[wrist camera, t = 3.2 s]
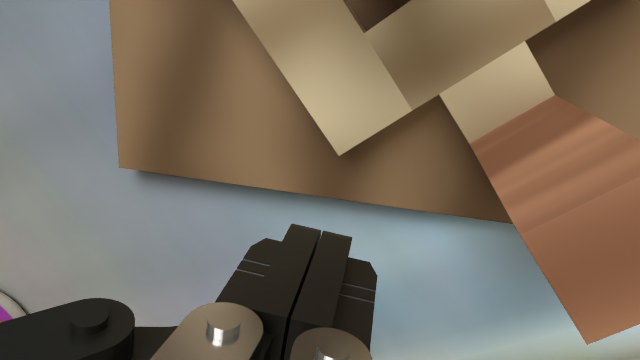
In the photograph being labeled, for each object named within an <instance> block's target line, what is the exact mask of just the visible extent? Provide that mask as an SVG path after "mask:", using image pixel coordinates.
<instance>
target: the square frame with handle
mask: <svg viewBox="0 0 640 360" xmlns="http://www.w3.org/2000/svg"><path fill="white" fill-rule="evenodd" d="M589 1H590V0H411V1H409V2H408V3H407V4H405V5H404V6H402V7H401V8H400V9H398V10H397V11H395V12H394V13H392V14H391V15H390V16H388V17H387V18H385V19H384V20H382V21H381V22H380V23H378V24H377V25H375V26H374V27H372V28H371V29H370V30H368V31H367V32H366V31H365V29H364V28H363V26H362V25H361V23H360V21H359V20H358V18H357V17H356V15H355V14H354V12H353V10H352V9H351V7H350V6H349V4H348V2H347V1H346V0H233V2H234V3H235V5H236V6H237V8H238V9H239V11H240V12H241V13H242V15H243V16H244V18H245V19H246V21H247V22H248V24H249V25H250V27H251V28H252V30H253V31H254V33H255V34H256V35H257V37H258V38H259V40H260V41H261V43H262V44H263V46H264V47H265V49H266V50H267V52H268V53H269V54H270V56H271V57H272V59H273V60H274V62H275V63H276V65H277V66H278V68H279V69H280V71H281V72H282V74H283V75H284V76H285V78H286V79H287V81H288V82H289V84H290V85H291V87H292V88H293V90H294V91H295V93H296V94H297V95H298V97H299V98H300V100H301V101H302V103H303V104H304V106H305V107H306V109H307V110H308V112H309V113H310V115H311V116H312V117H313V119H314V120H315V122H316V123H317V125H318V126H319V128H320V129H321V131H322V132H323V134H324V135H325V136H326V138H327V139H328V141H329V142H330V144H331V145H332V147H333V148H334V150H335V151H336V153H337V154H338V156H340V155H341V154H343V153H345V152H346V151H348V150H350V149H351V148H353V147H354V146H356V145H358V144H359V143H361V142H362V141H364V140H366V139H367V138H369V137H371V136H372V135H374V134H375V133H377V132H379V131H380V130H382V129H383V128H385V127H387V126H388V125H390V124H392V123H393V122H395V121H396V120H398V119H400V118H401V117H403V116H404V115H406V114H408V113H409V112H411V111H413V110H414V109H416V108H417V107H419V106H421V105H422V104H424V103H426V102H427V101H429V100H430V99H432V98H434V97H435V96H437V95H438V94H439V95H440V97H441V98H442V100H443V102H444V103H445V105H446V106H447V108H448V110H449V111H450V113H451V115H452V116H453V118H454V120H455V121H456V123H457V124H458V126H459V128H460V129H461V131H462V133H463V134H464V136H465V137H466V139H467V141H468V142H469V144H470V146H471V148H472V149H473V151H474V153H475V155H476V157H477V159H478V160H479V162H480V164H481V166H482V168H483V169H484V171H485V173H486V175H487V177H488V179H489V180H490V182H491V184H492V186H493V188H494V189H495V191H496V193H497V195H498V197H499V198H500V200H501V202H502V204H503V206H504V208H505V209H506V211H507V213H508V215H509V217H510V218H511V220H512V222H513V224H514V226H515V227H516V229H517V231H518V233H519V235H520V236H521V238H522V240H523V241H524V243H525V245H526V246H527V248H528V249H529V251H530V253H531V254H532V256H533V258H534V259H535V261H536V262H537V264H538V266H539V267H540V269H541V271H542V272H543V274H544V275H545V277H546V279H547V280H548V282H549V284H550V285H551V287H552V288H553V290H554V292H555V293H556V295H557V297H558V298H559V300H560V301H561V303H562V305H563V306H564V308H565V310H566V311H567V313H568V314H569V316H570V318H571V319H572V321H573V323H574V324H575V326H576V327H577V329H578V331H579V332H580V334H581V336H582V337H583V339H584V340H585V342H586V344H587V345H588V344H590V343H593V342H595V341H598V340H600V339H603V338H605V337H608V336H611V335H613V334H616V333H618V332H621V331H623V330H626V329H628V328H631V327H633V326H636V325H638V324H640V140H639V139H637V138H635V137H633V136H631V135H629V134H627V133H625V132H624V131H622V130H620V129H618V128H616V127H614V126H612V125H610V124H609V123H607V122H605V121H603V120H601V119H599V118H597V117H595V116H593V115H592V114H590V113H588V112H586V111H584V110H582V109H580V108H578V107H577V106H575V105H573V104H571V103H569V102H567V101H565V100H563V99H562V98H560V97H558V96H556V95H555V94H554V92H553V91H552V89H551V87H550V85H549V83H548V82H547V80H546V78H545V76H544V74H543V73H542V71H541V69H540V67H539V65H538V64H537V62H536V60H535V58H534V56H533V55H532V53H531V51H530V49H529V47H528V46H527V44H526V42H525V41H526V40H527V39H529V38H531V37H532V36H534V35H535V34H537V33H539V32H540V31H542V30H544V29H545V28H547V27H548V26H550V25H552V24H553V23H555V22H557V21H558V20H560V19H561V18H563V17H565V16H566V15H568V14H569V13H571V12H573V11H574V10H576V9H578V8H579V7H581V6H582V5H584V4H586V3H587V2H589Z"/></svg>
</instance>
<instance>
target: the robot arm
mask: <svg viewBox="0 0 640 360" xmlns="http://www.w3.org/2000/svg"><path fill="white" fill-rule="evenodd" d="M320 236H321V238H320ZM351 241H352V237H348V236H344V235H340V234H335V233H331V232H327V231H323V232H322V235H321V230H318V229H313V228H309V227H305V226H300V225H296V224H291V226H290V228H289V229H288V231H287V233H286V235H285V237H284V239H283V241H282V242H280V241H276V240H272V239H268V238H265V239H263V240H262V241H260V242H258V243H256V244H254V245H252V246H251V247H250V249H249V250H248V252H247V253H246V255H245V256H244V258H243V260H242V261H241V263H240V264H239V266H238V267H237V270H235V272H234V273H233V275H232V277H231V278H230V280H229V281H228V283H227V284H226V286H225V287H224V289H223V290H222V292H221V294H220V295H219V297H218V298H217V300H216V301H215V303H210V304H206V305H203V306H200V307H198V308H196V309H195V310H193V311H192V312H191V313H190V314H188V315H187V317H186V318H185V319H184V320H183V321H182V322H181V324H180V325H179V326H174V327H135V317H134V314H133V312H132V310H131V309H130V308H129V307H128V306H126V305H125V304H123V303H121V302H119V301H115V300H112V299H105V298H90V299H83V300H79V301H75V302H71V303H68V304H64V305H60V306H57V307H53V308H50V309H46V310H43V311H39V312H36V313H32V314H28V315H25V316H21V317H18V318H14V319H11V320H7V321H4V322H0V360H372V357H371V354H370V342H371V332H372V322H373V312H374V302H375V293H376V292H375V291H376V283H377V275H376V273H375V271H374V269H373V267H372V266H371V264H370V262H366V261H362V260H358V259H353V258H349V257H348V255H349V250H350V246H351Z"/></svg>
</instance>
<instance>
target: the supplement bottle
mask: <svg viewBox="0 0 640 360" xmlns="http://www.w3.org/2000/svg"><path fill="white" fill-rule="evenodd" d="M25 315H26V313H25V312H24V311H23V310H22V309H21V307H20V306H19V305H18V304H17V303H16V302H15V301H14V300H12V299H11V298H10V297H8V296H7V295H5V294H4V293H2V292H0V322H4V321H7V320H11V319H14V318H18V317H21V316H25Z"/></svg>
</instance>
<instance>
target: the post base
mask: <svg viewBox="0 0 640 360" xmlns="http://www.w3.org/2000/svg"><path fill="white" fill-rule="evenodd" d="M346 1H347V2H348V4H349V6H350V7H351V9H352V10H353V12H354V14H355V15H356V17H357V18H358V20H359V21H360V23H361V25H362V26H363V28H364V29H365V31H366V32H367V31H368V30H370V29H371V28H372V27H374V26H375V25H377V24H378V23H380V22H381V21H382V20H384V19H385V18H387V17H388V16H390V15H391V14H392V13H394V12H395V11H397V10H398V9H400V8H401V7H402V6H404V5H405V4H407V3H408V2H409V1H411V0H346ZM109 5H110V22H111V39H112V55H113V72H114V89H115V106H116V123H117V140H118V157H119V168H126V169H133V170H140V171H147V172H154V173H161V174H168V175H175V176H182V177H189V178H196V179H203V180H210V181H217V182H224V183H231V184H238V185H245V186H252V187H259V188H266V189H273V190H280V191H287V192H294V193H301V194H308V195H315V196H322V197H329V198H336V199H343V200H350V201H357V202H364V203H371V204H378V205H385V206H392V207H399V208H406V209H413V210H420V211H427V212H434V213H441V214H448V215H455V216H462V217H469V218H476V219H483V220H490V221H497V222H504V223H511V224H513V222H512V220H511V218H510V217H509V215H508V213H507V211H506V209H505V208H504V206H503V204H502V202H501V200H500V198H499V197H498V195H497V193H496V191H495V189H494V188H493V186H492V184H491V182H490V180H489V179H488V177H487V175H486V173H485V171H484V169H483V168H482V166H481V164H480V162H479V160H478V159H477V157H476V155H475V153H474V151H473V149H472V148H471V146H470V144H469V142H468V141H467V139H466V137H465V136H464V134H463V133H462V131H461V129H460V128H459V126H458V124H457V123H456V121H455V120H454V118H453V116H452V115H451V113H450V111H449V110H448V108H447V106H446V105H445V103H444V102H443V100H442V98H441V97H440V95H439V94H438V95H437V96H435V97H434V98H432V99H430V100H429V101H427V102H426V103H424V104H422V105H421V106H419V107H417V108H416V109H414V110H413V111H411V112H409V113H408V114H406V115H404V116H403V117H401V118H400V119H398V120H396V121H395V122H393V123H392V124H390V125H388V126H387V127H385V128H383V129H382V130H380V131H379V132H377V133H375V134H374V135H372V136H371V137H369V138H367V139H366V140H364V141H362V142H361V143H359V144H358V145H356V146H354V147H353V148H351V149H350V150H348V151H346V152H345V153H343V154H341V155H340V156H338V154H337V153H336V151H335V150H334V148H333V147H332V145H331V144H330V142H329V141H328V139H327V138H326V136H325V135H324V134H323V132H322V131H321V129H320V128H319V126H318V125H317V123H316V122H315V120H314V119H313V117H312V116H311V115H310V113H309V112H308V110H307V109H306V107H305V106H304V104H303V103H302V101H301V100H300V98H299V97H298V95H297V94H296V93H295V91H294V90H293V88H292V87H291V85H290V84H289V82H288V81H287V79H286V78H285V76H284V75H283V74H282V72H281V71H280V69H279V68H278V66H277V65H276V63H275V62H274V60H273V59H272V57H271V56H270V54H269V53H268V52H267V50H266V49H265V47H264V46H263V44H262V43H261V41H260V40H259V38H258V37H257V35H256V34H255V33H254V31H253V30H252V28H251V27H250V25H249V24H248V22H247V21H246V19H245V18H244V16H243V15H242V13H241V12H240V11H239V9H238V8H237V6H236V5H235V3H234V2H233V0H109ZM525 42H526V44H527V46H528V47H529V49H530V51H531V53H532V55H533V56H534V58H535V60H536V62H537V64H538V65H539V67H540V69H541V71H542V73H543V74H544V76H545V78H546V80H547V82H548V83H549V85H550V87H551V89H552V91H553V92H554V94H555V95H556V96H558V97H560V98H562V99H563V100H565V101H567V102H569V103H571V104H573V105H575V106H577V107H578V108H580V109H582V110H584V111H586V112H588V113H590V114H592V115H593V116H595V117H597V118H599V119H601V120H603V121H605V122H607V123H609V124H610V125H612V126H614V127H616V128H618V129H620V130H622V131H624V132H625V133H627V134H629V135H631V136H633V137H635V138H637V139H639V140H640V0H590V1H589V2H587V3H586V4H584V5H582V6H581V7H579V8H578V9H576V10H574V11H573V12H571V13H569V14H568V15H566V16H565V17H563V18H561V19H560V20H558V21H557V22H555V23H553V24H552V25H550V26H548V27H547V28H545V29H544V30H542V31H540V32H539V33H537V34H535V35H534V36H532V37H531V38H529V39H527V40H526V41H525Z"/></svg>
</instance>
